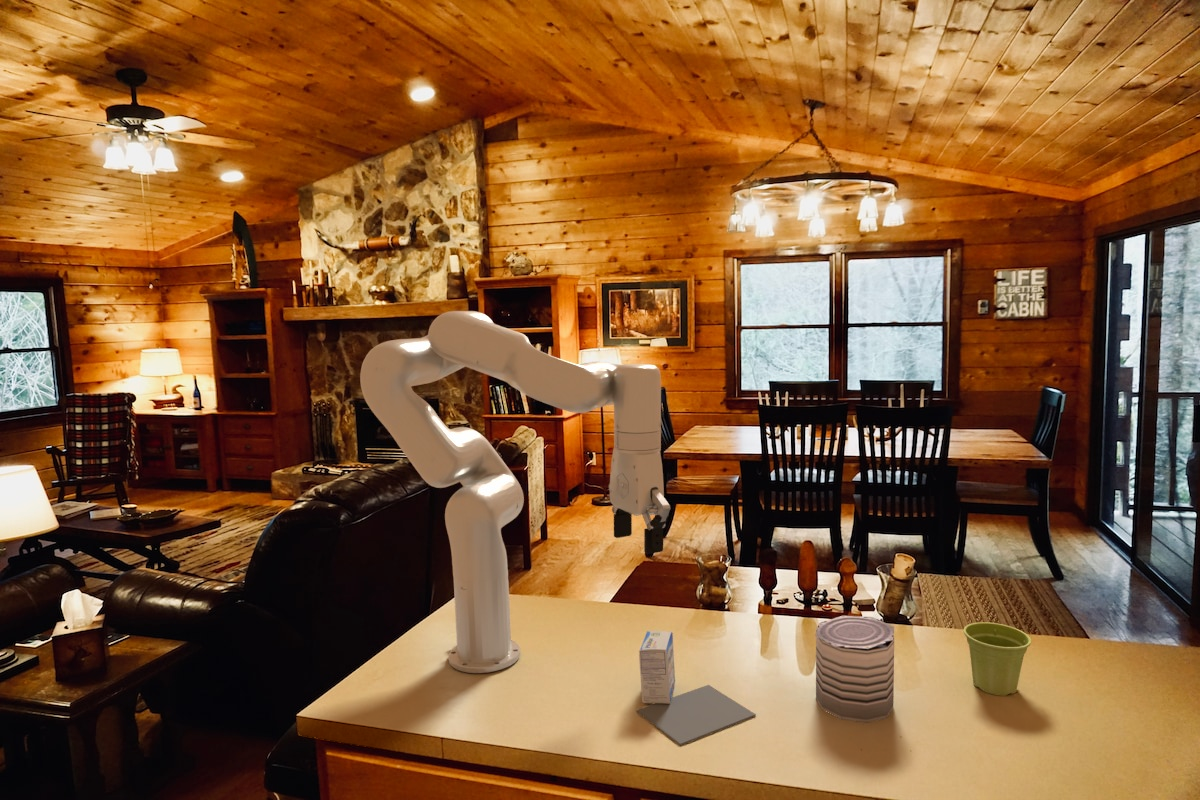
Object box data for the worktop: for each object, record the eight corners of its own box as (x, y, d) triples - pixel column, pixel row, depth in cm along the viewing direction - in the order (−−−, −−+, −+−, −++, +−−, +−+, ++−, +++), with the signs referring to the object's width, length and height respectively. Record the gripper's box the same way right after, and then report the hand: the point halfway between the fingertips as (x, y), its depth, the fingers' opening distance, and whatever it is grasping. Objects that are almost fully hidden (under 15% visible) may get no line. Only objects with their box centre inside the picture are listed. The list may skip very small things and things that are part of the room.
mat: (636, 711, 115) (636, 710, 115) (708, 686, 123) (708, 684, 123) (680, 745, 106) (680, 743, 106) (755, 716, 113) (755, 714, 113)
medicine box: (670, 705, 116) (667, 650, 116) (641, 704, 117) (638, 649, 117) (675, 682, 124) (673, 630, 123) (648, 681, 125) (646, 630, 124)
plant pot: (1026, 678, 122) (1028, 627, 121) (1032, 706, 114) (1033, 651, 113) (962, 669, 126) (963, 618, 125) (962, 695, 118) (963, 641, 117)
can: (895, 727, 109) (896, 647, 108) (813, 716, 113) (813, 639, 111) (892, 690, 120) (893, 617, 118) (817, 681, 123) (817, 610, 122)
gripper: (591, 435, 128) (592, 534, 130) (646, 451, 113) (646, 563, 115) (630, 431, 132) (630, 527, 134) (687, 447, 116) (687, 555, 118)
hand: (637, 544), depth 124 cm, fingers open, 9 cm apart
